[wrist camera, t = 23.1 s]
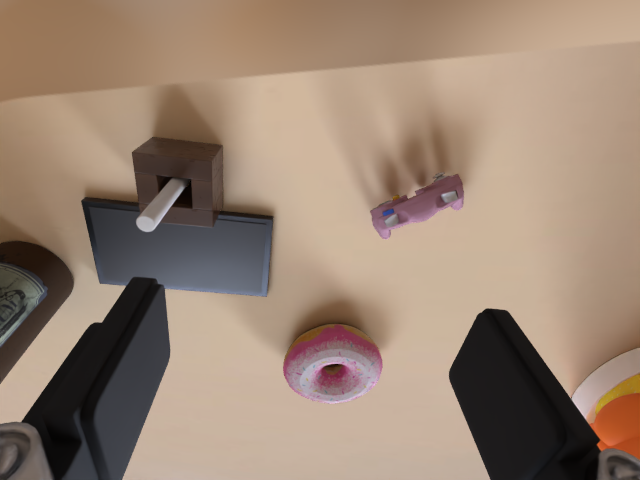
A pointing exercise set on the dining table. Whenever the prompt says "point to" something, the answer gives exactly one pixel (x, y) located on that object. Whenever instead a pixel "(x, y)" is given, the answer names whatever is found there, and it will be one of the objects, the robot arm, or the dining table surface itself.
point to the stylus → (161, 204)
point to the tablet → (180, 250)
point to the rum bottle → (27, 296)
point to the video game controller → (418, 204)
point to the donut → (332, 348)
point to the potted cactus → (613, 402)
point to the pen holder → (183, 162)
